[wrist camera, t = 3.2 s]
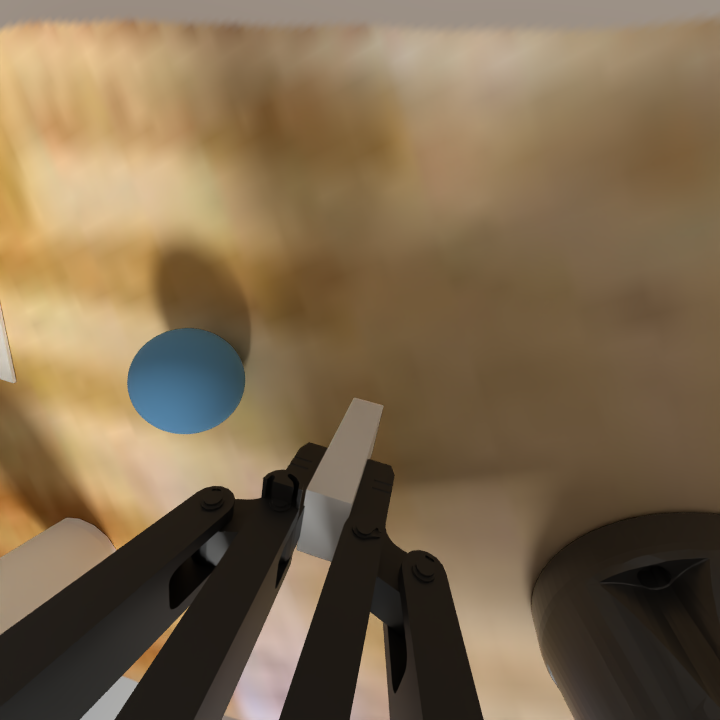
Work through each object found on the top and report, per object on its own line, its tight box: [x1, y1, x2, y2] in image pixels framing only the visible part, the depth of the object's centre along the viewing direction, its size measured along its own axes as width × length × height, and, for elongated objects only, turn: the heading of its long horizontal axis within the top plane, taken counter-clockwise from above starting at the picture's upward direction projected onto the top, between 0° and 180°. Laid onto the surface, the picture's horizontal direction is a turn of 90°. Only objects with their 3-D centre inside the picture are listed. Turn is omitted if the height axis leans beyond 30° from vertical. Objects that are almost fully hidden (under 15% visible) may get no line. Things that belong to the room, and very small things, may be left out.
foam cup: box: [0, 518, 116, 635], centre depth 25 cm, size 10×9×13 cm
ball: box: [127, 328, 245, 434], centre depth 18 cm, size 6×6×6 cm
